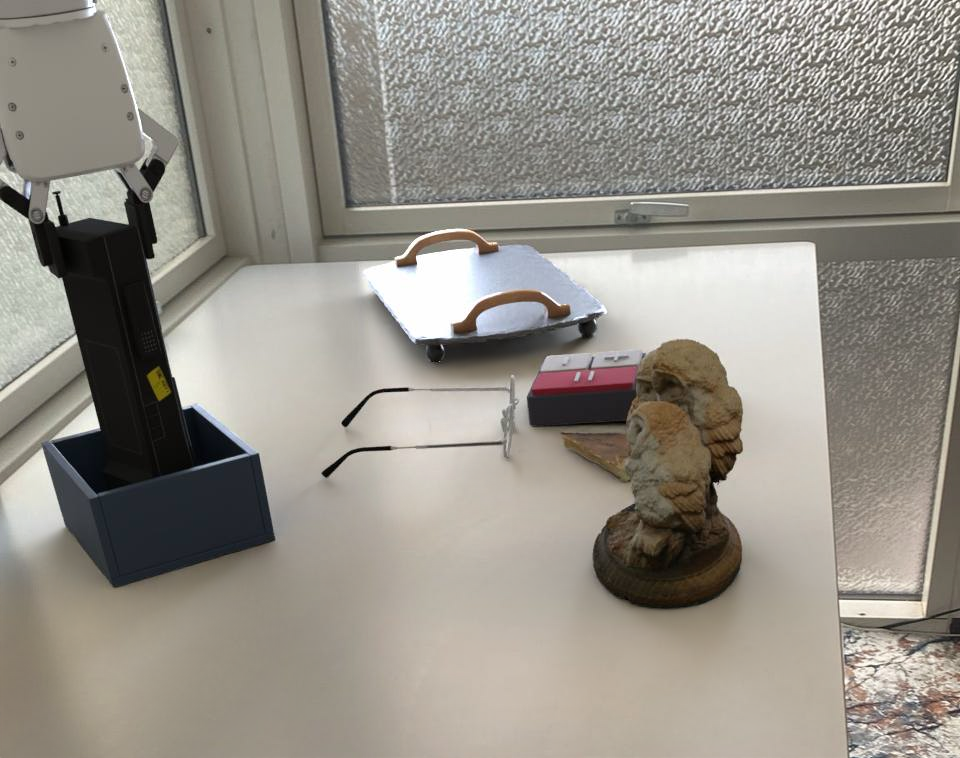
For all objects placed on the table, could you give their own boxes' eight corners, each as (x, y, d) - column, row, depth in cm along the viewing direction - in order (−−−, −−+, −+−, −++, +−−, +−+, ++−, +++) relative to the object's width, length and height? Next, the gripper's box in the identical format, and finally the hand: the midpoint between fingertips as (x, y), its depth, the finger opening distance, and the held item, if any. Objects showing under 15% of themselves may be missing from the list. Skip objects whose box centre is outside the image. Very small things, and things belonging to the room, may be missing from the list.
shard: (560, 447, 127) (559, 429, 126) (629, 429, 129) (629, 410, 128) (618, 484, 119) (618, 465, 118) (691, 463, 121) (691, 444, 120)
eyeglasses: (518, 474, 123) (514, 420, 120) (319, 484, 125) (311, 432, 122) (524, 411, 135) (521, 362, 132) (344, 422, 137) (336, 373, 134)
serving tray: (358, 287, 177) (351, 237, 173) (525, 261, 180) (522, 211, 176) (422, 375, 147) (415, 317, 143) (621, 341, 150) (620, 284, 146)
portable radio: (216, 500, 117) (152, 188, 101) (161, 525, 113) (86, 206, 98) (163, 481, 121) (94, 180, 106) (108, 504, 118) (28, 197, 103)
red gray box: (542, 352, 138) (688, 341, 135) (546, 393, 141) (689, 384, 137) (524, 389, 130) (680, 379, 126) (529, 433, 132) (682, 423, 129)
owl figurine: (592, 513, 115) (586, 308, 104) (731, 507, 113) (739, 298, 103) (593, 613, 100) (586, 387, 90) (751, 607, 99) (763, 377, 89)
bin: (113, 588, 111) (88, 499, 106) (65, 525, 122) (40, 442, 117) (275, 540, 116) (259, 453, 111) (214, 484, 127) (197, 403, 122)
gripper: (140, -22, 99) (190, 235, 111) (-97, 10, 94) (-18, 278, 105) (171, -18, 94) (221, 252, 105) (-77, 17, 88) (4, 298, 99)
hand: (101, 262), depth 105 cm, fingers closed on portable radio, 6 cm apart
